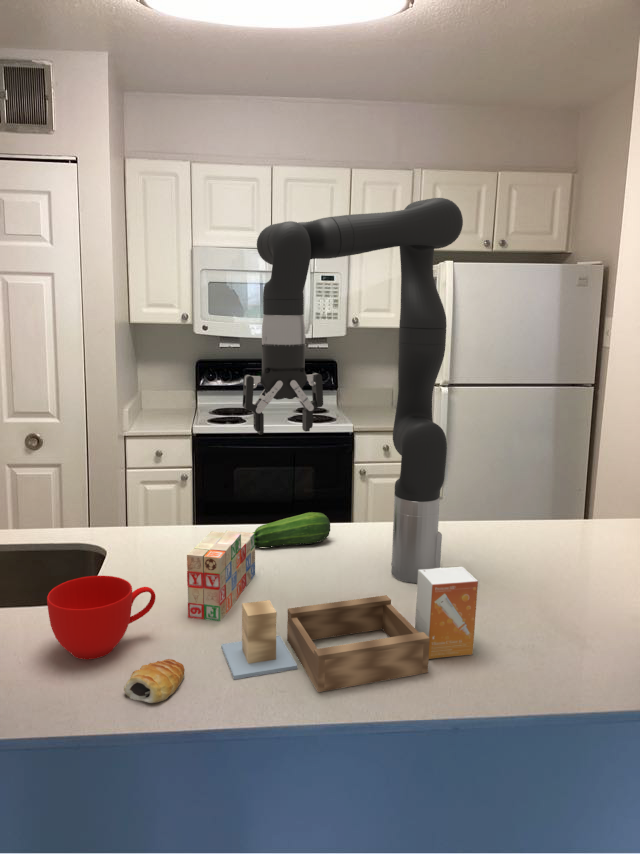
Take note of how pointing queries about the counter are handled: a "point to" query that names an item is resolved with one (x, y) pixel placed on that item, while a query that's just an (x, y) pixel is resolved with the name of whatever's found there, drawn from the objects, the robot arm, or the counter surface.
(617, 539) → the counter surface
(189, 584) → the stack of blocks
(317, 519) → the vegetable
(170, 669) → the pastry
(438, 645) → the small box
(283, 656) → the pad
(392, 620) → the crate
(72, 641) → the ceramic cup
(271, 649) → the block
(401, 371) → the robot arm
